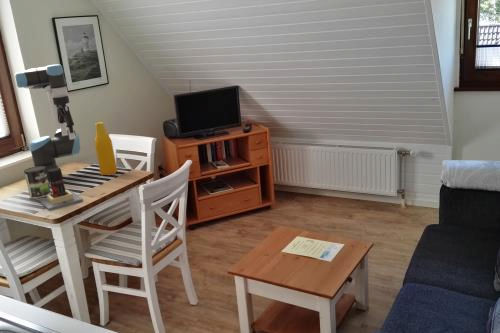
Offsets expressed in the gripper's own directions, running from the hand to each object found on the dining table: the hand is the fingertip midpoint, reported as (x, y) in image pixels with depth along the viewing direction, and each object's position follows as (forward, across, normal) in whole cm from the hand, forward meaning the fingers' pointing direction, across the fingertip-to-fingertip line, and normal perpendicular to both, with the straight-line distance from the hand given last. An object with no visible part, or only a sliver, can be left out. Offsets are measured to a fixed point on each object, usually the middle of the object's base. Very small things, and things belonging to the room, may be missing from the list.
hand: (68, 137), depth 265 cm
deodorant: (+26, +17, -14) cm, 34 cm away
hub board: (+27, +17, -14) cm, 35 cm away
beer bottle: (+27, -10, +20) cm, 35 cm away
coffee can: (+27, -3, -19) cm, 33 cm away
